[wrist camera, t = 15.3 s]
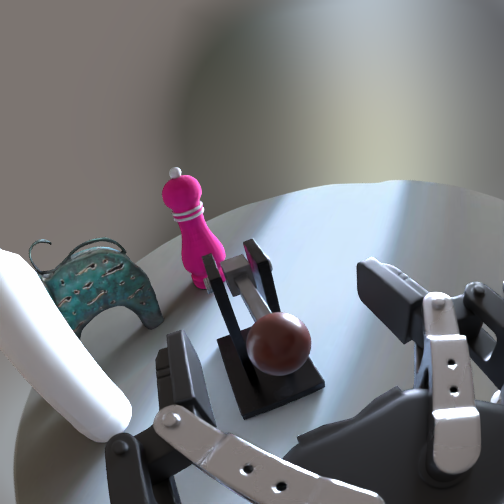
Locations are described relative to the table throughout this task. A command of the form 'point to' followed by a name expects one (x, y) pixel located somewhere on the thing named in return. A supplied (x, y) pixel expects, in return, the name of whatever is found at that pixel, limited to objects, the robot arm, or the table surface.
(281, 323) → the press lever
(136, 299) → the ceramic cat
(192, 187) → the pepper mill
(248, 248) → the lever bracket
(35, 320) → the bottle
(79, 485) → the table surface
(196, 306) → the table surface
